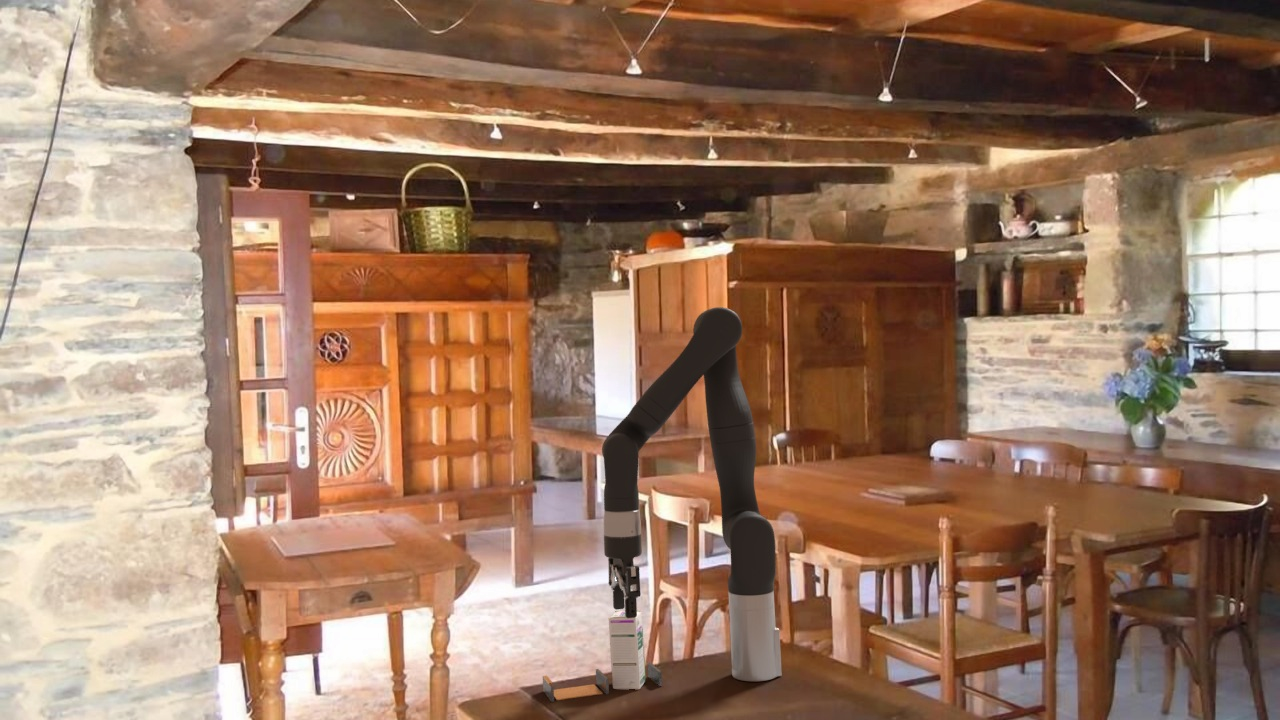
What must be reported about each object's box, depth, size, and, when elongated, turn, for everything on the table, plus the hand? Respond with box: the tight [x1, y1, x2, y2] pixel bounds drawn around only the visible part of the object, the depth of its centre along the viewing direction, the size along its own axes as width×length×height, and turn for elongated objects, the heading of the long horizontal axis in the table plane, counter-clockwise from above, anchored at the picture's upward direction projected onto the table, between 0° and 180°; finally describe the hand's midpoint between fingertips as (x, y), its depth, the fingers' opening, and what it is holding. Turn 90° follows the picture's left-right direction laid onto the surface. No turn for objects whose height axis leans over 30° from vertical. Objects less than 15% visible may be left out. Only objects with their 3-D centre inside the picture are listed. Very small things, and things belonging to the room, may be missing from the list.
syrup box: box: [608, 609, 647, 690], centre depth 216 cm, size 6×6×14 cm
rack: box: [542, 661, 663, 703], centre depth 214 cm, size 23×8×3 cm, turn 108°
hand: (624, 613), depth 216 cm, fingers open, 8 cm apart
